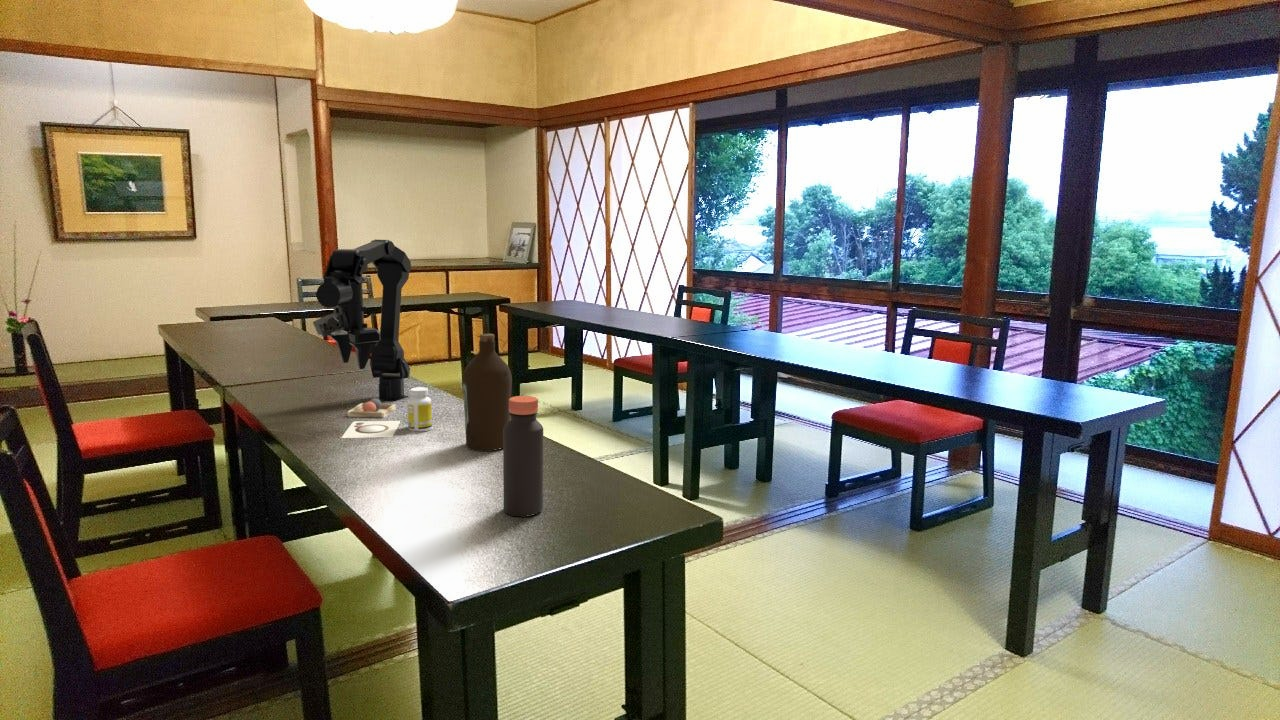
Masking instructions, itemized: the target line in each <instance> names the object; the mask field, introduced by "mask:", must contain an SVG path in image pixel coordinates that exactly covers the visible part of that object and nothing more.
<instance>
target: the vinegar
mask: <svg viewBox="0 0 1280 720" xmlns="http://www.w3.org/2000/svg"><path fill="white" fill-rule="evenodd" d="M509 412H510V413H509V415H510V421H509V422H508V423H507V424H506V425H505V426H504V428H503V449H502V450H503V454H502V459H503V463H502V464H503V467H502V468H503V471H502V472H503V475H502V476H503V483H502V484H503V488H502V489H503V511H504V513H505V514H507V515H508V514H509V515H508V516H510V515H513V516H512V517H514V516H527V515H532V514H536V513H538V512H540V511H541V510H543V507H544V427H543V425H542V424H541V422H539V420H537V416H538V412H539V399H538V398H537V397H536V396H531V395H516V396H511V398H510V399H509ZM541 512H542V511H541ZM541 512H540V513H541ZM538 514H539V513H538Z"/></svg>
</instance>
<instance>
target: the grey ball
mask: <svg viewBox="0 0 1280 720" xmlns="http://www.w3.org/2000/svg"><path fill="white" fill-rule="evenodd" d="M368 402H373V403H374V404H375V405H376V411H377V410H379V409H380V408H381V404H382V400H379V399H376V397H374V398H371V399H370V400H369V401H368Z"/></svg>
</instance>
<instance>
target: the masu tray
mask: <svg viewBox="0 0 1280 720" xmlns="http://www.w3.org/2000/svg"><path fill="white" fill-rule="evenodd" d="M365 403H366V402H361V403H359V404H358V405H356V406H354V407H353V408H351V409H350V410H348V411H347V417H348V418H349V417H350V418H351V417H352V418H376V419H377V418H379V419H380V418H381V419H383V418H384V419H385V418H386V417H387V416H388V415H390V414H391V413H392V412H394V411H395V410H397V404H396V403H381V408H380V409H379V410H377V411H375V412H364V411H363V405H364V404H365Z"/></svg>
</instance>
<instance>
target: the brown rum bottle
mask: <svg viewBox="0 0 1280 720" xmlns="http://www.w3.org/2000/svg"><path fill="white" fill-rule="evenodd" d="M478 344H479V345H478V347H479V351H478V352H477V354H476V355H475V356H474V357H473V358H472V359H471V360H470V361H469V363H467V365H466V366H465V368H464V371H463V375H462V381H461V382H462V394H463V409H464V410H463V411H464V425H465V429H464V430H465V446H466V447H467V448H468V449H469V448H470V450H472V449H473V451H476V450H480V451H479V452H489V451H488V450H494V449H499V448H503V428H504V426H505V425H506V424H507V423H508V422H509V421H510V420H511V415H509V413H510V412H509V399H510V398H511V397H512V389H513V388H512V384H513V383H512V382H513V377H512V372H511V369H510V366H509V365H508V364H507V363H506V362H505V361H504V360H503V359H502V357H501V356H499V355H498V354H497V352H496V341H495V334H494V333H480V334H479V341H478ZM481 450H482V451H481ZM486 450H487V451H486Z"/></svg>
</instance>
